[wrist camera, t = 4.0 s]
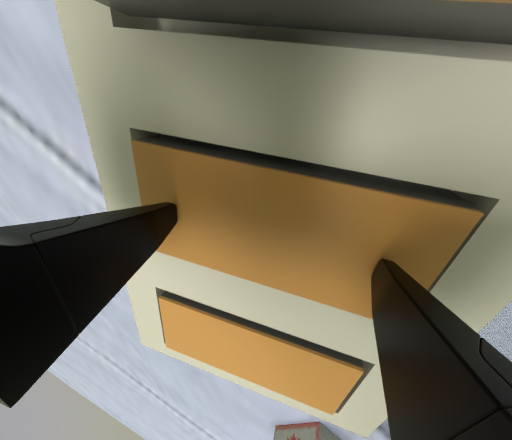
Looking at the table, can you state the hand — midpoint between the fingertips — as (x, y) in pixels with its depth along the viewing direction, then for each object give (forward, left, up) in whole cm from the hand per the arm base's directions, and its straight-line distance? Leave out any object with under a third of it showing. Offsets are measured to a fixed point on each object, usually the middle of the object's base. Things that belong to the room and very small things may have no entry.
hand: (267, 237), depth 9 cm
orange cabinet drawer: (0, +10, -3) cm, 10 cm away
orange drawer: (0, 0, -3) cm, 3 cm away
